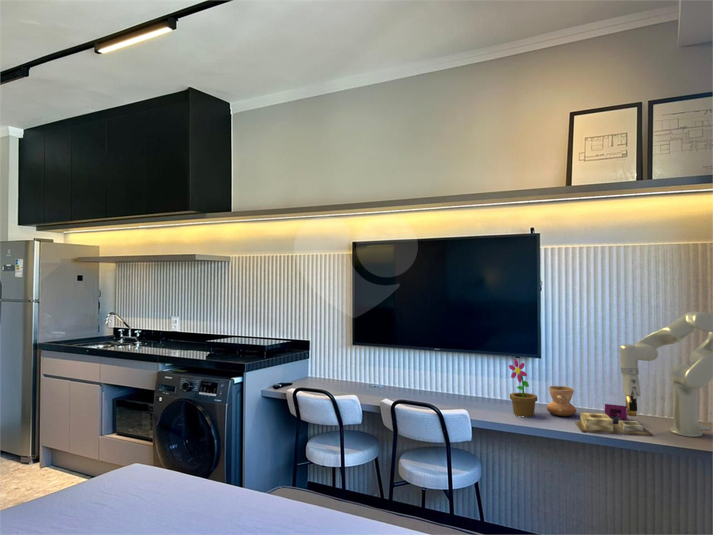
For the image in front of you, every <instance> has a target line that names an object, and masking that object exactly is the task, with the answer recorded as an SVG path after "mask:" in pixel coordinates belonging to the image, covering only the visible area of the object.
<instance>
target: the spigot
mask: <svg viewBox="0 0 713 535" xmlns="http://www.w3.org/2000/svg"><path fill="white" fill-rule="evenodd" d="M631 396H633V395H631ZM631 398H633V397H631ZM626 402H627V408H626V409H627V416H628V417H637V416H638V415H637V413H638V410H637V411H630V410H629V402H630V398H629V395H627V396H626V395H625V403H626Z"/></svg>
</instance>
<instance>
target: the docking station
mask: <svg viewBox="0 0 713 535" xmlns="http://www.w3.org/2000/svg"><path fill="white" fill-rule="evenodd" d="M579 415H580V421H575V422H574V423H575V425H576V427H577V426H578V427H579V428H578V427H577V428H578V429H579V430H580V431H581V433H586V432H589V433H588V434H604V433H608V435H622V434H629V435H628V436H641V435H647V436H646V437H653V433H652V432H650V430H648V429H647V428H646V427H644V426H643V425H642V424H640V422H638V421H635V420H633V421H632V420H627V421H621V420H618V423H614V420H613V418H612V417H611V418H610V417H609V416H608V415H606V414H605V413H600V412H599V413H594V412H593V413H592V412H580V414H579Z"/></svg>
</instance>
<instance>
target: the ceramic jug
mask: <svg viewBox="0 0 713 535" xmlns="http://www.w3.org/2000/svg"><path fill="white" fill-rule="evenodd" d="M548 390H549V394H550V397H551V399H552V401H551V402H549V403H548V404H547V405H546V410H547V411H548V412H549V413H550V414H552V415H555V416H558V417H570V416H573V415H575V414H576V413H577V408H576V407H575V406H574V405H573V404H572V403H571V400H572V398H573V394H574V392H575V391H574V388H572V387H568V386H564V385H550V386H549V387H548Z"/></svg>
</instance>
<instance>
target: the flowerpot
mask: <svg viewBox="0 0 713 535" xmlns="http://www.w3.org/2000/svg"><path fill="white" fill-rule="evenodd" d="M513 364H514V365H512V364H509V365H508V368H509V369H510V370H512V371H513V372H512V373H511V374H510V375H511V376H510V377H511V379H514V378H516V379H517V382H518V383H521V385H519V386H517V387H516V388H517V389H518V390H520V391H521V392H512V393H509V399H510V401H511V402H512V410H513V415H514V414H515V415H514V416H516V415H517V416H516V417H519V416H524V417H523V418H531V417H530V416H533V417H534V416H535V407H536V402H538V395H537V394H534V393H530V392H525V388H529V386H530V385H529V382H528V381H526V380H524V377H527V376H528V374H527V373H526V371H524V370H523V369H524V367H525V362H522V363H520V364H519V360H518V359H517V358H514V360H513Z"/></svg>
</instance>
